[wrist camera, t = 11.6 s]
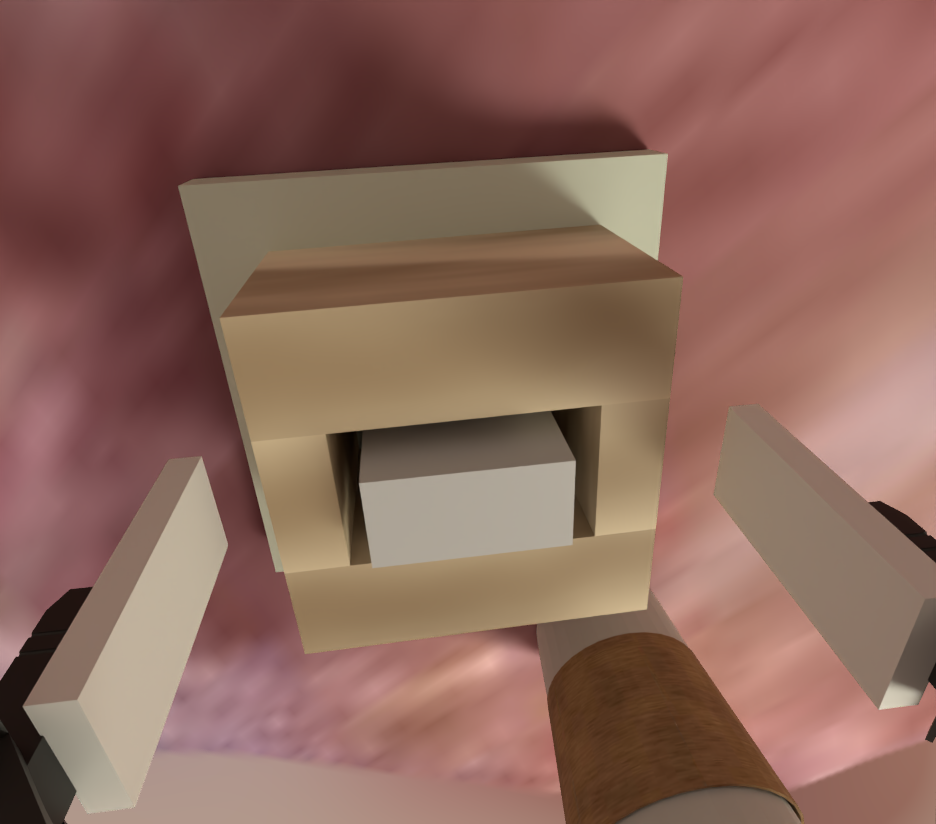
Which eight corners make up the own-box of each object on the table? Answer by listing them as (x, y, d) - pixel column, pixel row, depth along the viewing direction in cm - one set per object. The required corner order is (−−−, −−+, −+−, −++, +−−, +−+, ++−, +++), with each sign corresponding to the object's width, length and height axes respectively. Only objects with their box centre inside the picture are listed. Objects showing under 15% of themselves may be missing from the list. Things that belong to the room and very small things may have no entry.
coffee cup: (656, 523, 27) (921, 949, 13) (702, 643, 31) (943, 1064, 17) (480, 598, 27) (566, 1069, 14) (546, 706, 31) (663, 1153, 18)
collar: (588, 492, 24) (646, 609, 18) (324, 523, 23) (305, 653, 18) (600, 224, 19) (683, 276, 14) (268, 251, 18) (219, 317, 13)
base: (193, 178, 18) (59, 240, 11) (648, 149, 20) (812, 186, 12) (282, 546, 25) (236, 742, 17) (619, 508, 26) (713, 677, 19)
